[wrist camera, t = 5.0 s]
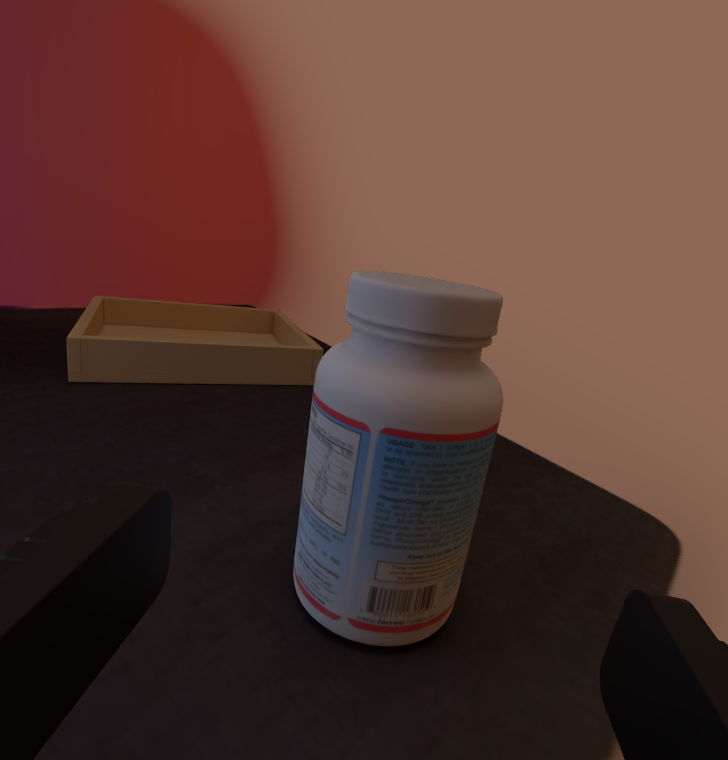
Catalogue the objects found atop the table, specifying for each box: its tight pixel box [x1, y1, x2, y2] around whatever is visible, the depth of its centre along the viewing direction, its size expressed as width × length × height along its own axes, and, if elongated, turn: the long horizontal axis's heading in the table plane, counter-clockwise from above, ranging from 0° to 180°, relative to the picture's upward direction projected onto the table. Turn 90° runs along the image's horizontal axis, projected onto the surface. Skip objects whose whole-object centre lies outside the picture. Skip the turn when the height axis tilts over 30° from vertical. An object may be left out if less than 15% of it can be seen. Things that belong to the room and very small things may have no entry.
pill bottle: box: [294, 271, 503, 646], centre depth 16 cm, size 6×6×11 cm
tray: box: [67, 296, 323, 385], centre depth 42 cm, size 18×16×3 cm
